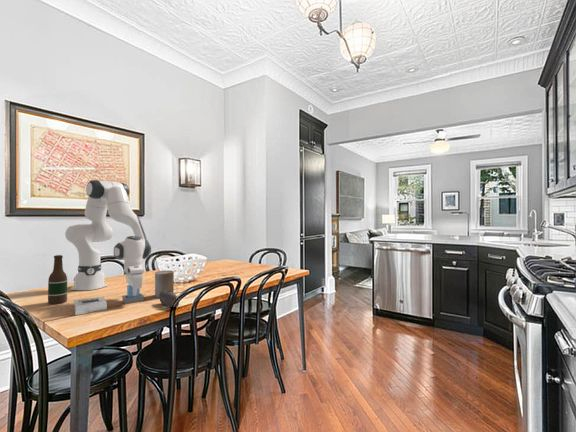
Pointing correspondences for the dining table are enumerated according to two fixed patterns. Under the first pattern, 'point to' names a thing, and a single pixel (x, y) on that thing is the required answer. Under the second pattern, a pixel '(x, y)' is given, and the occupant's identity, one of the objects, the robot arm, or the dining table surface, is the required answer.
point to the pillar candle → (164, 282)
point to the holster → (132, 299)
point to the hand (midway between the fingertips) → (133, 294)
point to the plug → (129, 292)
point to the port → (89, 305)
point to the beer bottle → (57, 283)
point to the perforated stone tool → (167, 298)
